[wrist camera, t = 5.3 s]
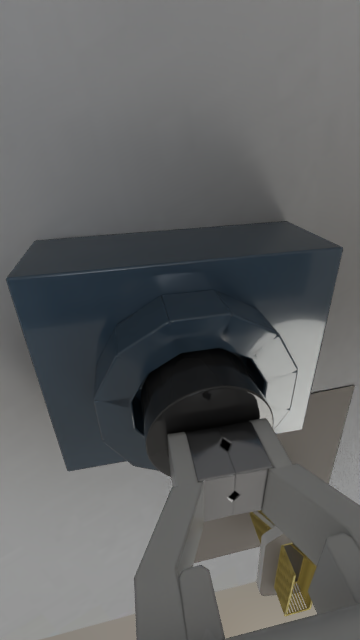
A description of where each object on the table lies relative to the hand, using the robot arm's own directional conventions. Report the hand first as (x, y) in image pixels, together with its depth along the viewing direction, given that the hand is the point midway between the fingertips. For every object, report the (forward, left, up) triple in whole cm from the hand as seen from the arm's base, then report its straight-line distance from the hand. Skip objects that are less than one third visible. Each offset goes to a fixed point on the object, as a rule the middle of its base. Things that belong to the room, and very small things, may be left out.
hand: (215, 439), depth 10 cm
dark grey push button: (0, 0, -2) cm, 2 cm away
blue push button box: (0, 0, -8) cm, 8 cm away
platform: (-6, +16, -8) cm, 18 cm away
